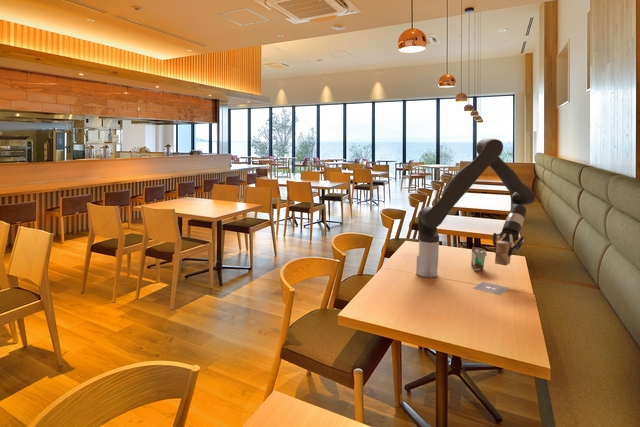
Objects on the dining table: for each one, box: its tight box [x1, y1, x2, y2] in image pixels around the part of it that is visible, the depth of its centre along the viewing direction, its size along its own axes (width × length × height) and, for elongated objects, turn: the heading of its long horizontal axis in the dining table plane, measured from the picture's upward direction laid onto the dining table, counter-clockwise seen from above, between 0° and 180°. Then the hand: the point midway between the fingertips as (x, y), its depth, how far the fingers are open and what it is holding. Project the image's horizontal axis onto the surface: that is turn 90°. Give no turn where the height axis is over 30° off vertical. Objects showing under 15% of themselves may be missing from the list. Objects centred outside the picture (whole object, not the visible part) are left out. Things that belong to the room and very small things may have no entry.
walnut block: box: [494, 240, 512, 267], centre depth 188 cm, size 5×5×10 cm
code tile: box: [472, 281, 510, 296], centre depth 181 cm, size 12×12×1 cm
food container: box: [470, 246, 488, 273], centre depth 208 cm, size 12×6×10 cm, turn 168°
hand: (502, 254), depth 187 cm, fingers closed on walnut block, 5 cm apart
